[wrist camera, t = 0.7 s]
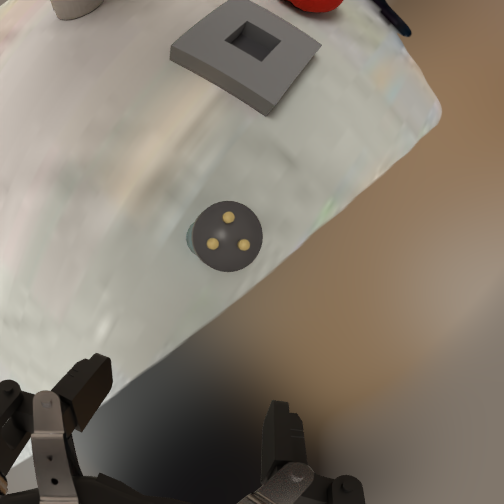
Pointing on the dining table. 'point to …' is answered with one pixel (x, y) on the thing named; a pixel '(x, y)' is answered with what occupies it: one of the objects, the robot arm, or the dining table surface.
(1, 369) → the dining table surface
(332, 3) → the tomato
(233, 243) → the plug
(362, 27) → the dining table surface
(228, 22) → the socket block
